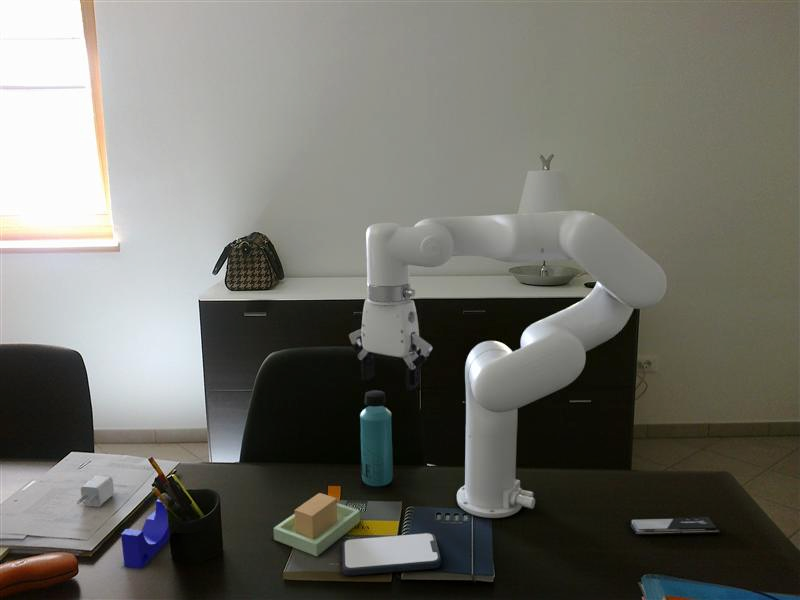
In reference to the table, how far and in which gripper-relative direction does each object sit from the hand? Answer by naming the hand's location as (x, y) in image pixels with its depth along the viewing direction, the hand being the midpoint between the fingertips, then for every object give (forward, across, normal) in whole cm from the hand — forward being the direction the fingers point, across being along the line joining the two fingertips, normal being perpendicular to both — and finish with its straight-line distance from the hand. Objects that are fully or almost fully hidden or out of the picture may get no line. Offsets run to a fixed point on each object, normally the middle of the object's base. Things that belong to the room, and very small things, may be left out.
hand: (389, 383), depth 125 cm
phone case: (+24, -10, +15) cm, 30 cm away
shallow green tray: (+24, +6, +15) cm, 29 cm away
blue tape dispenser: (+24, +28, +34) cm, 50 cm away
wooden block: (+23, +6, +15) cm, 29 cm away
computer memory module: (+24, -48, -18) cm, 57 cm away
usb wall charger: (+24, +49, +30) cm, 62 cm away
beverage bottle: (+24, +6, -4) cm, 26 cm away
